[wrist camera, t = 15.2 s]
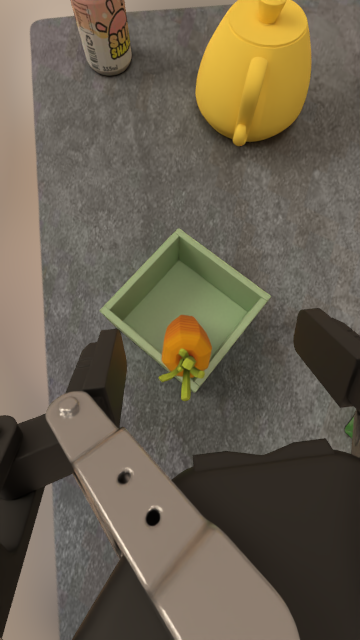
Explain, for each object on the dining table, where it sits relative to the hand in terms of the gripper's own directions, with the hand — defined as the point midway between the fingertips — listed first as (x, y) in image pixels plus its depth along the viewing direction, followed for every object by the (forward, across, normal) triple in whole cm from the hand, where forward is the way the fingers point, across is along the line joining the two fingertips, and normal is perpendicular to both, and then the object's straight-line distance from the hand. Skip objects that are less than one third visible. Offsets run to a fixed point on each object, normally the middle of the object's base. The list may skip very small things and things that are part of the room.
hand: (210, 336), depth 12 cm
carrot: (+20, 0, +11) cm, 23 cm away
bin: (+21, 0, +11) cm, 24 cm away
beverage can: (+57, +7, -24) cm, 62 cm away
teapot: (+47, -16, -15) cm, 52 cm away
